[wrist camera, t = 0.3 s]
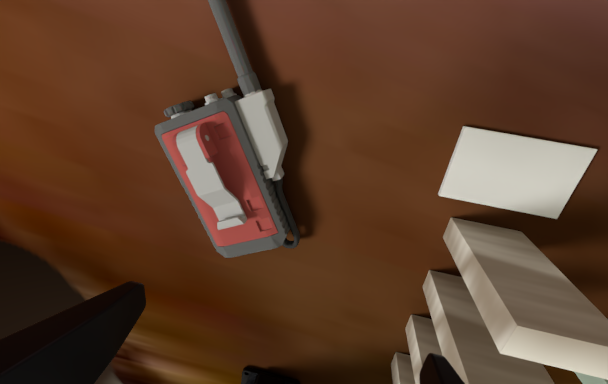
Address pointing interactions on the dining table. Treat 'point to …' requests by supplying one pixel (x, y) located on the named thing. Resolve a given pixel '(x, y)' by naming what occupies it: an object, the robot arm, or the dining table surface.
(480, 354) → the domino
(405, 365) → the domino
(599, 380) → the green domino
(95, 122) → the dining table surface
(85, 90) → the dining table surface
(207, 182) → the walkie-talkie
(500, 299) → the domino
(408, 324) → the domino
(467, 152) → the end pad
